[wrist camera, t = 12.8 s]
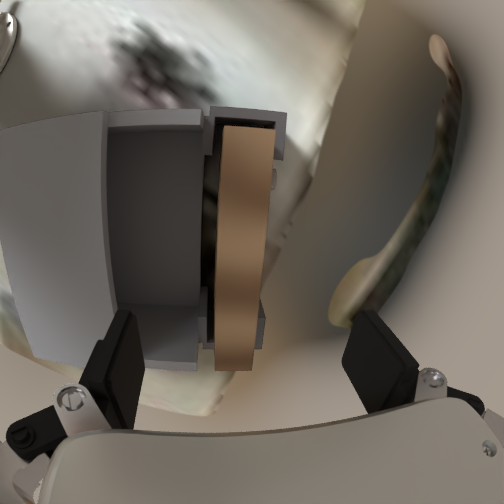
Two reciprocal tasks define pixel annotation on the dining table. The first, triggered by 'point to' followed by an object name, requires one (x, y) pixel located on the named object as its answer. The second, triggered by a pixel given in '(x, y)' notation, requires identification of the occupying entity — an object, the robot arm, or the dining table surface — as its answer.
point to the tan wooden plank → (241, 241)
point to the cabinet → (113, 228)
